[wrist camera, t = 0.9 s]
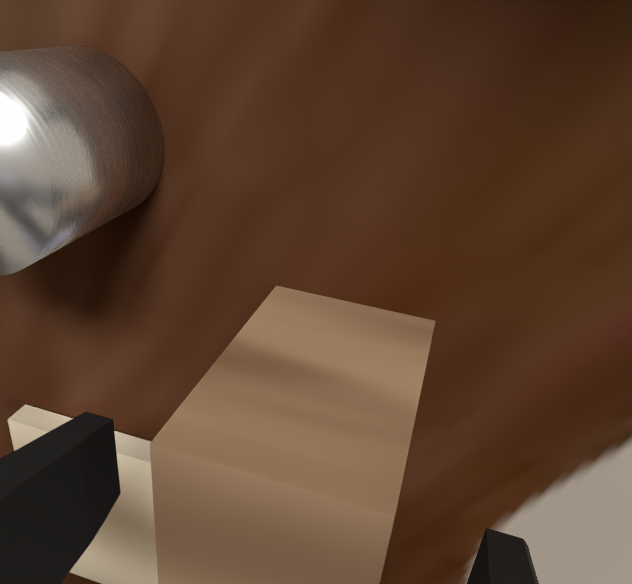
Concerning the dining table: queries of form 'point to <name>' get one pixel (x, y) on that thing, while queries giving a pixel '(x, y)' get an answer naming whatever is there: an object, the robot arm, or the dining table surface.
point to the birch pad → (124, 518)
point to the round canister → (70, 148)
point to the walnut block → (291, 447)
